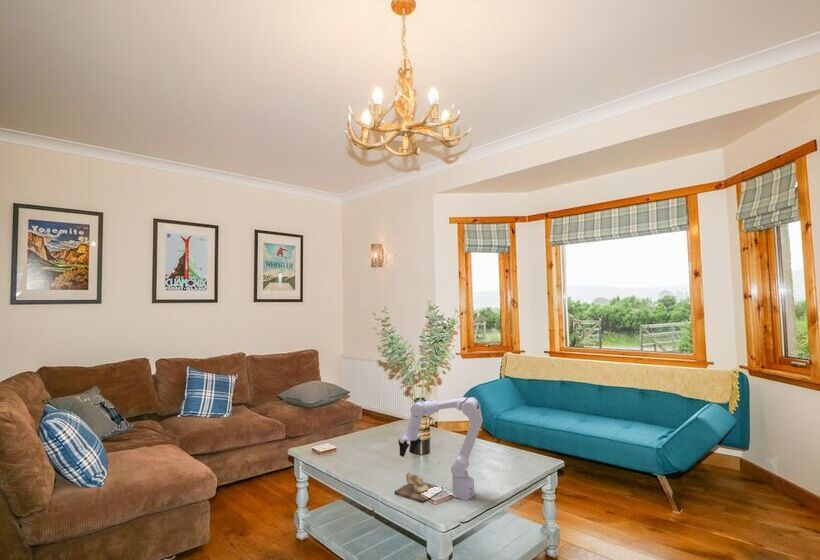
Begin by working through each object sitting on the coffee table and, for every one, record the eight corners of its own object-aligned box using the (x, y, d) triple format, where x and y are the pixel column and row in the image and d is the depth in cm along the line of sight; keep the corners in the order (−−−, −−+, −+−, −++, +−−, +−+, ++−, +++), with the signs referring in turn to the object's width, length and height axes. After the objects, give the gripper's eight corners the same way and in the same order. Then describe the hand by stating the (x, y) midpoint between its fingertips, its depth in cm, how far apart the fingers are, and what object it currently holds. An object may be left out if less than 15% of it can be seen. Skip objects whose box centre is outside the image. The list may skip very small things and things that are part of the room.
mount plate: (442, 490, 209) (442, 487, 209) (423, 503, 196) (423, 500, 196) (415, 482, 218) (415, 479, 218) (394, 494, 205) (394, 491, 206)
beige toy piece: (430, 490, 206) (430, 476, 206) (422, 495, 201) (422, 481, 201) (411, 484, 212) (411, 471, 213) (403, 489, 207) (403, 475, 207)
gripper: (415, 421, 221) (409, 447, 221) (397, 425, 209) (390, 453, 210) (427, 427, 216) (420, 454, 217) (409, 432, 205) (402, 460, 206)
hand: (406, 454), depth 213 cm, fingers open, 7 cm apart
